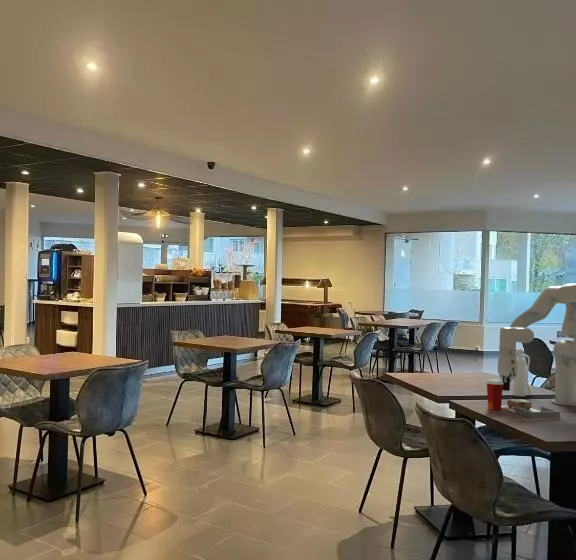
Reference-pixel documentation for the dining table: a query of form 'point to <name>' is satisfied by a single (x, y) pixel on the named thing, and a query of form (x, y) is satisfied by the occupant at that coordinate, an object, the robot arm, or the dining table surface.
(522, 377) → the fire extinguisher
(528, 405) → the white wood-edged tile
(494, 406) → the paper cup
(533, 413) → the dock bay
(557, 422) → the dining table surface
